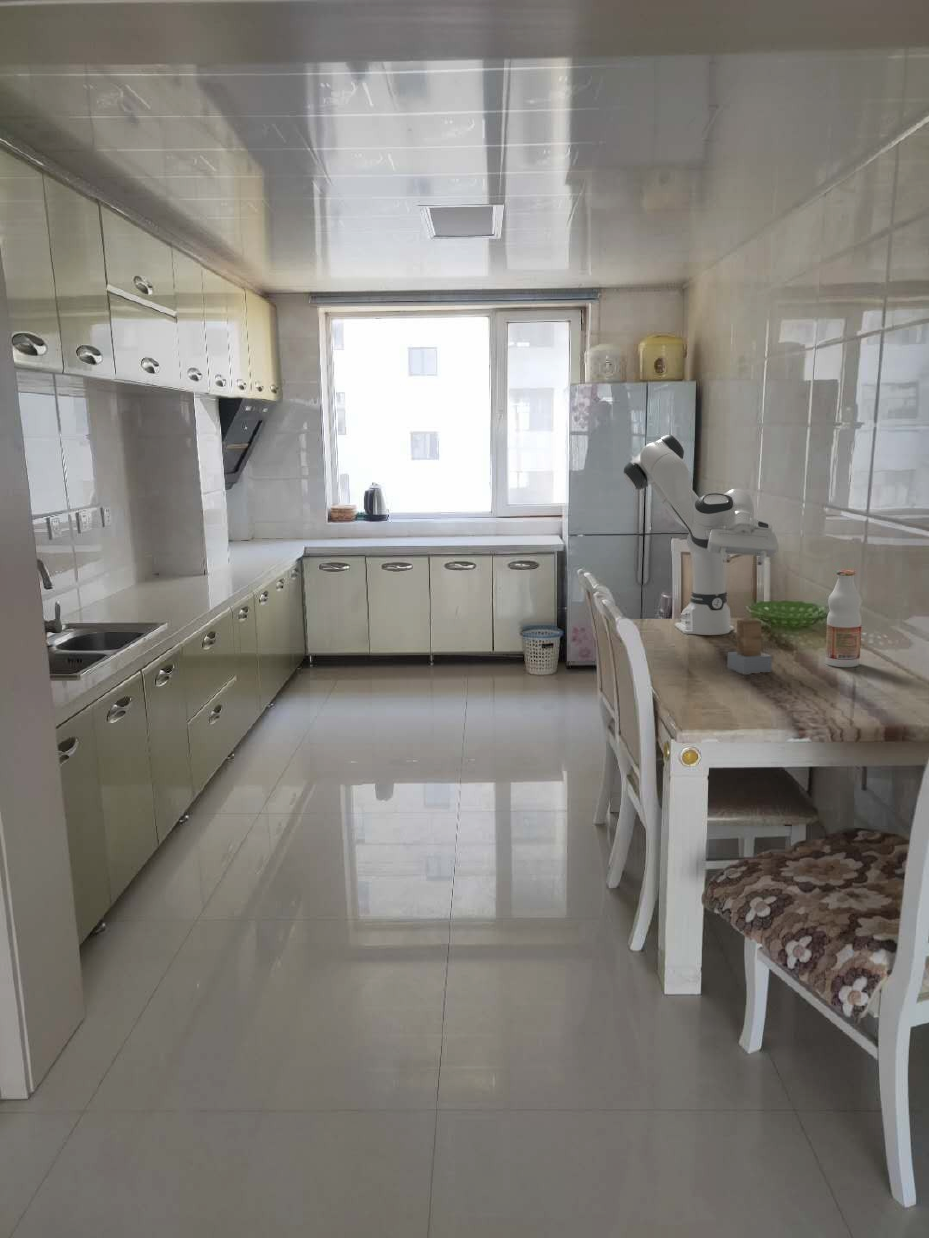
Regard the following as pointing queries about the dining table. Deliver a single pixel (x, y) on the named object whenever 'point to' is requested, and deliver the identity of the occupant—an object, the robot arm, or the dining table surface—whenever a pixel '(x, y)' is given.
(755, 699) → the dining table surface
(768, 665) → the slate grey base block
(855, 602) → the fruit juice
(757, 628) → the walnut block
